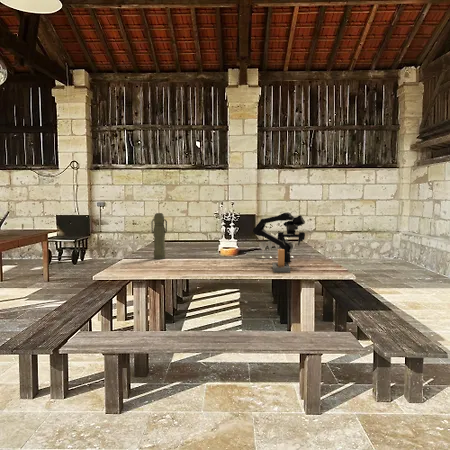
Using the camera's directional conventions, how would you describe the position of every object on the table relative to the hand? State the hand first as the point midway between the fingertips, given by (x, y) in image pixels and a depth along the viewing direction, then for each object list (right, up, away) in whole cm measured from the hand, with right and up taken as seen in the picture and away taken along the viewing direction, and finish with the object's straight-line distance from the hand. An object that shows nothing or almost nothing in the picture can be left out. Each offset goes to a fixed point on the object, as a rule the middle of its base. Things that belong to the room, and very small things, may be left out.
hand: (291, 245), depth 277 cm
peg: (-10, -15, -18) cm, 25 cm away
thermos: (-97, -12, +33) cm, 103 cm away
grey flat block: (-10, -15, -18) cm, 25 cm away
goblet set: (-6, -11, +38) cm, 40 cm away
